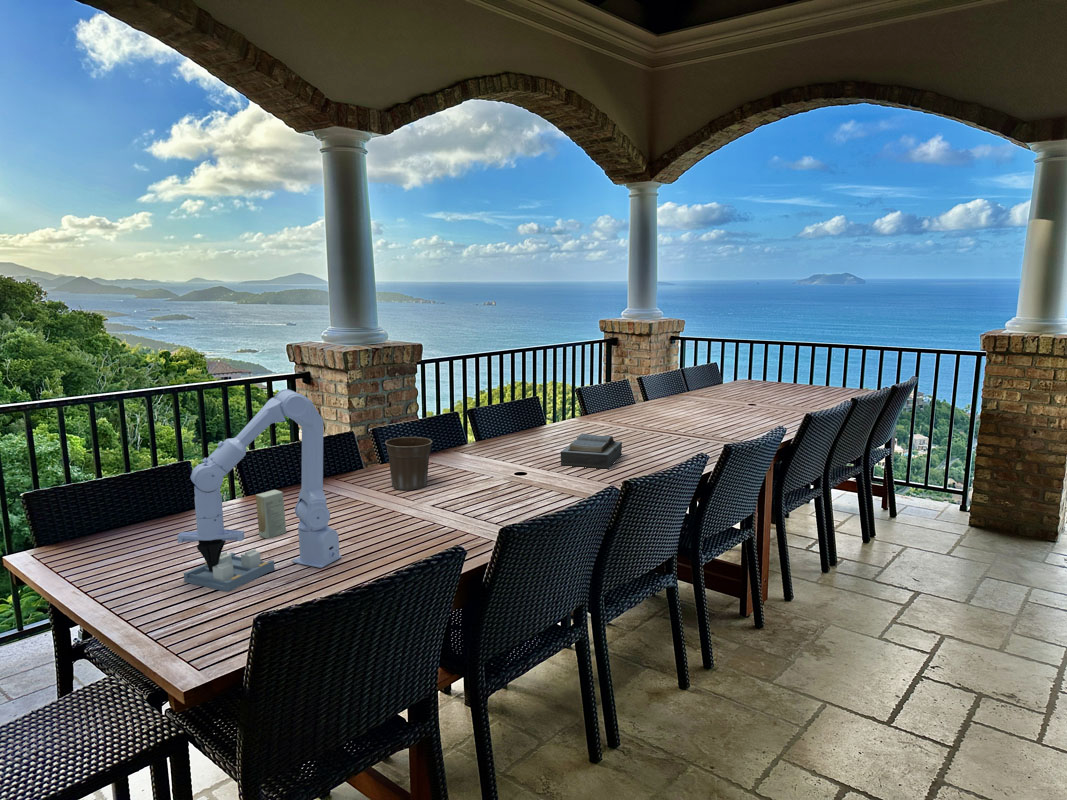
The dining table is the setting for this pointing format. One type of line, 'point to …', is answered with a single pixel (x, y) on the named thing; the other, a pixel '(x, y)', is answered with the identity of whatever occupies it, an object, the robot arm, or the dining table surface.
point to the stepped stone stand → (591, 452)
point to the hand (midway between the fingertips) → (213, 570)
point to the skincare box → (270, 513)
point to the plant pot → (409, 462)
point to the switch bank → (241, 577)
